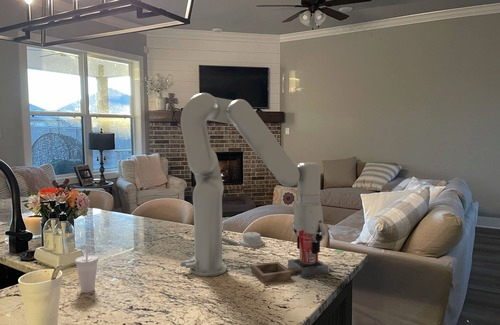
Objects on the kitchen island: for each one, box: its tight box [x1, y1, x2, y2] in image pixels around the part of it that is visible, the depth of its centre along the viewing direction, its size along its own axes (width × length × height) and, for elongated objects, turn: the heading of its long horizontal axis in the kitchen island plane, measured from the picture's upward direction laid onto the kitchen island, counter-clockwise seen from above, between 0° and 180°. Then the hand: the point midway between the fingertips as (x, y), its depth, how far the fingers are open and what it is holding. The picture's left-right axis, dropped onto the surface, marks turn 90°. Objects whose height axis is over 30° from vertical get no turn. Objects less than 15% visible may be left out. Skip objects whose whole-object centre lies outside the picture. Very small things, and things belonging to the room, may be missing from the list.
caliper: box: [222, 236, 241, 246], centre depth 160 cm, size 20×1×6 cm, turn 67°
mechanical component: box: [239, 231, 264, 248], centre depth 159 cm, size 10×4×10 cm
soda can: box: [298, 229, 319, 264], centre depth 128 cm, size 6×6×12 cm
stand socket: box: [250, 261, 292, 284], centre depth 124 cm, size 10×10×2 cm
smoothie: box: [74, 244, 99, 294], centre depth 111 cm, size 6×6×14 cm
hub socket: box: [286, 258, 329, 278], centre depth 128 cm, size 14×10×2 cm
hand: (308, 250), depth 128 cm, fingers closed on soda can, 6 cm apart
